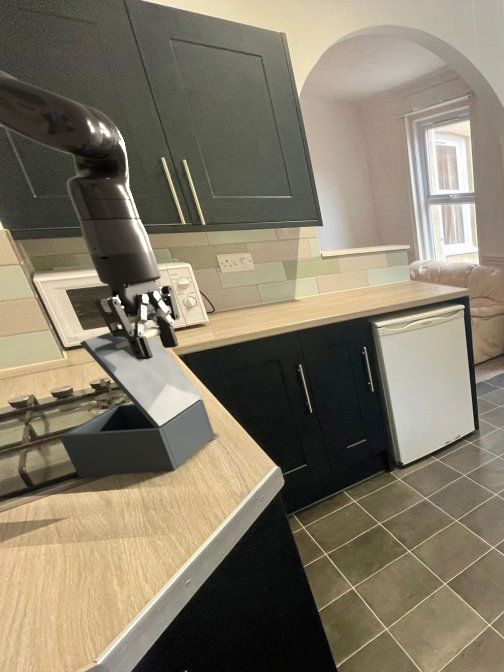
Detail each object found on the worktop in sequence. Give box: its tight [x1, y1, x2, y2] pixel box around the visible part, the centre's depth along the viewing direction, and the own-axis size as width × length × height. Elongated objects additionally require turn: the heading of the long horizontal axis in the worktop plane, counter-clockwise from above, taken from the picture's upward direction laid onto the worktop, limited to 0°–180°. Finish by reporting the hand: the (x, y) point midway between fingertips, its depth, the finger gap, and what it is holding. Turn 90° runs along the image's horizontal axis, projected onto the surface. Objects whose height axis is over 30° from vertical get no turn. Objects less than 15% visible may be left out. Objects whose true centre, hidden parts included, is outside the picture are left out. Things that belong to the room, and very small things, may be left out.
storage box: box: [59, 399, 216, 478], centre depth 77 cm, size 16×13×10 cm
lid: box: [79, 323, 205, 428], centre depth 73 cm, size 16×13×5 cm
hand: (158, 352), depth 72 cm, fingers open, 6 cm apart
